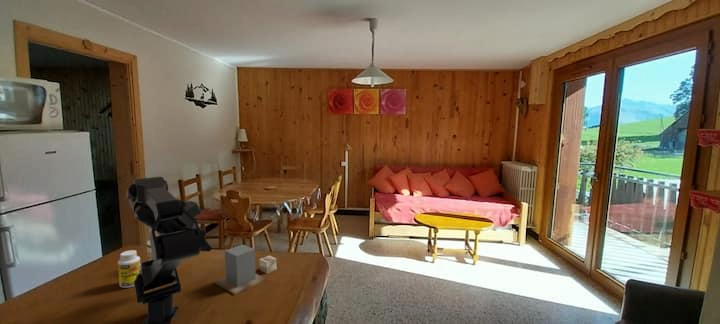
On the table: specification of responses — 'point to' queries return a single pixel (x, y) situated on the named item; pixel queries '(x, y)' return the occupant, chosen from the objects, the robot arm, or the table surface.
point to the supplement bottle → (128, 268)
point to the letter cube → (267, 264)
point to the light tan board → (236, 290)
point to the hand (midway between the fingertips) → (202, 245)
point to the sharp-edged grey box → (240, 265)
